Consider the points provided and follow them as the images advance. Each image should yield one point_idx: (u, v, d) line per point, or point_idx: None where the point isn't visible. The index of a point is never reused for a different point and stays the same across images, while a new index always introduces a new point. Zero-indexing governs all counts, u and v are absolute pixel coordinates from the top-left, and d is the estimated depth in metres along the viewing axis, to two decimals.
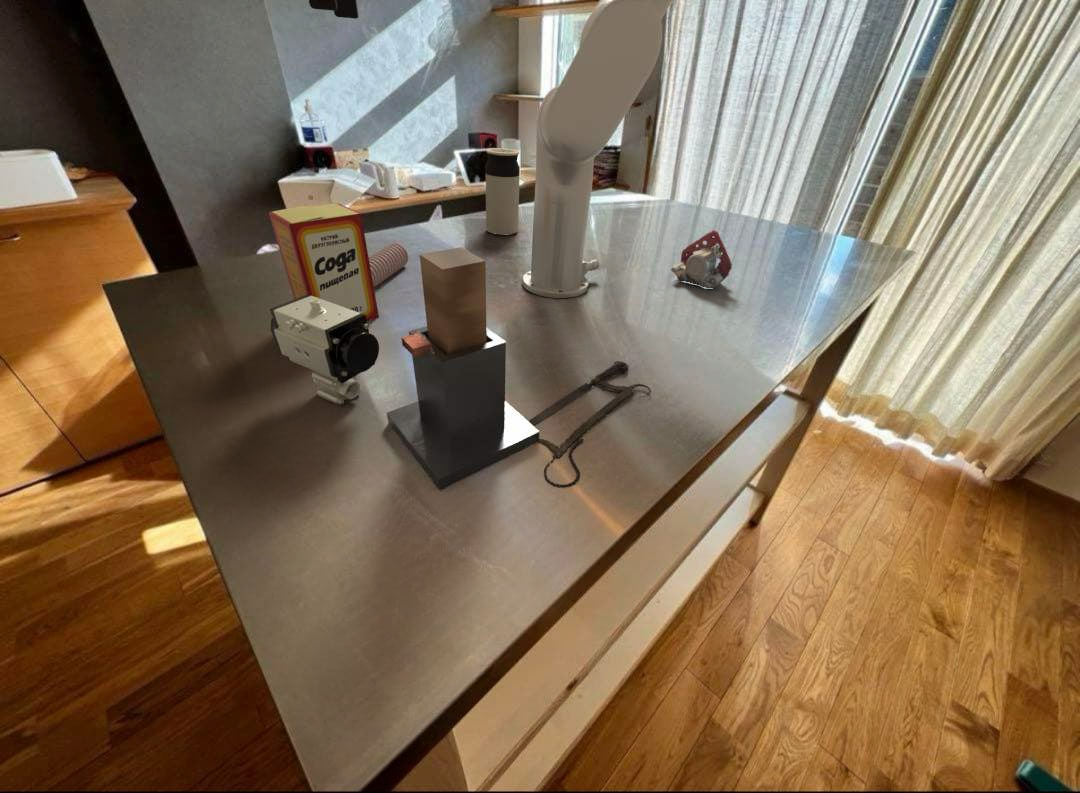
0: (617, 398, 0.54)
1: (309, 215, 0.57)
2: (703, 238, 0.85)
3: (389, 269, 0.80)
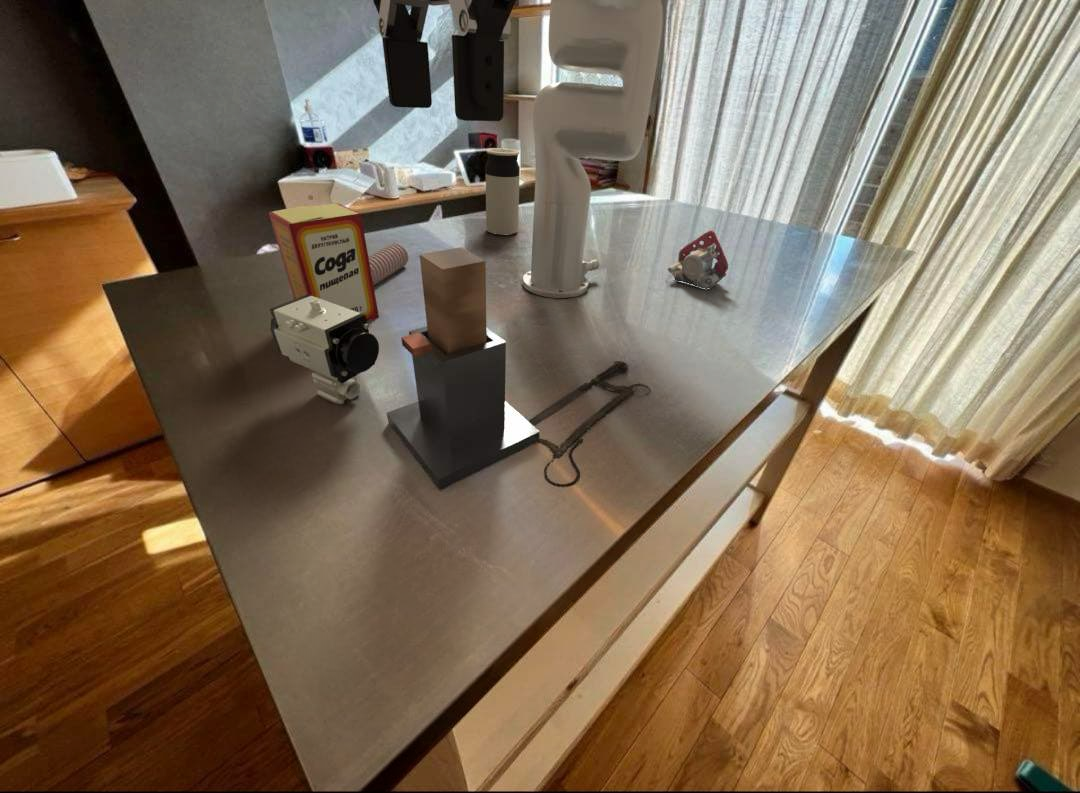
0: (617, 398, 0.54)
1: (309, 215, 0.57)
2: (700, 238, 0.85)
3: (387, 269, 0.79)
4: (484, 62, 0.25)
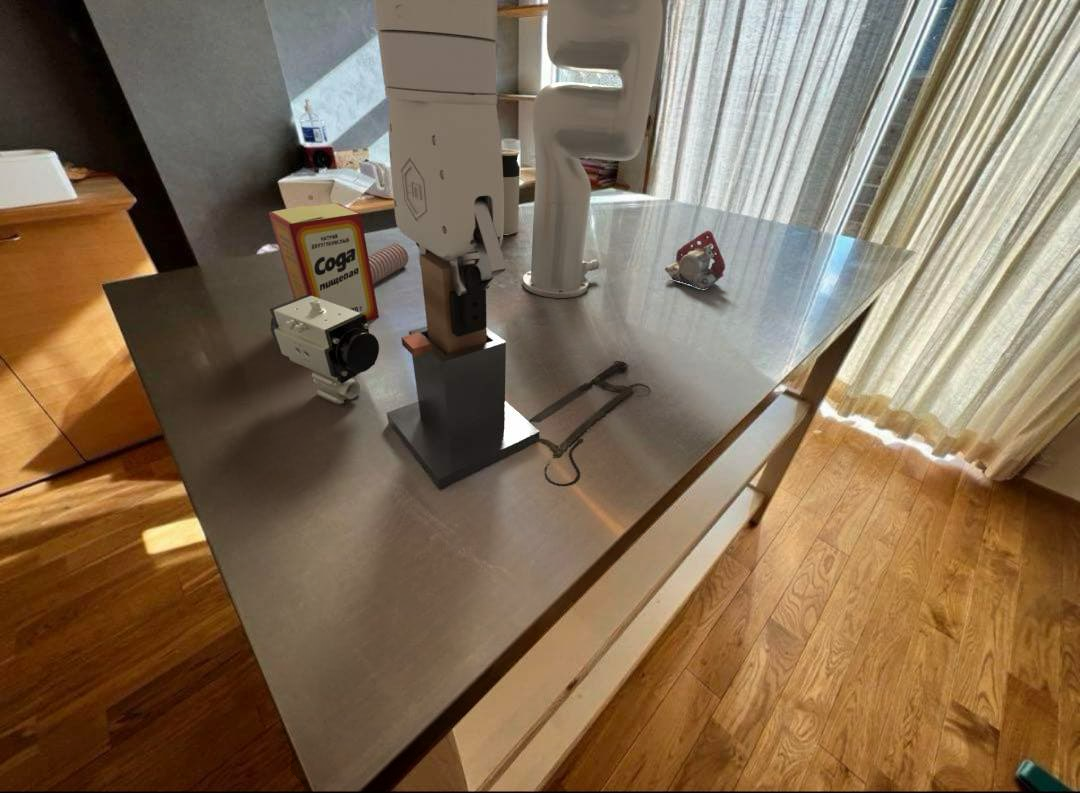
0: (617, 397, 0.54)
1: (309, 215, 0.57)
2: (697, 238, 0.85)
3: (385, 269, 0.79)
4: (472, 305, 0.36)
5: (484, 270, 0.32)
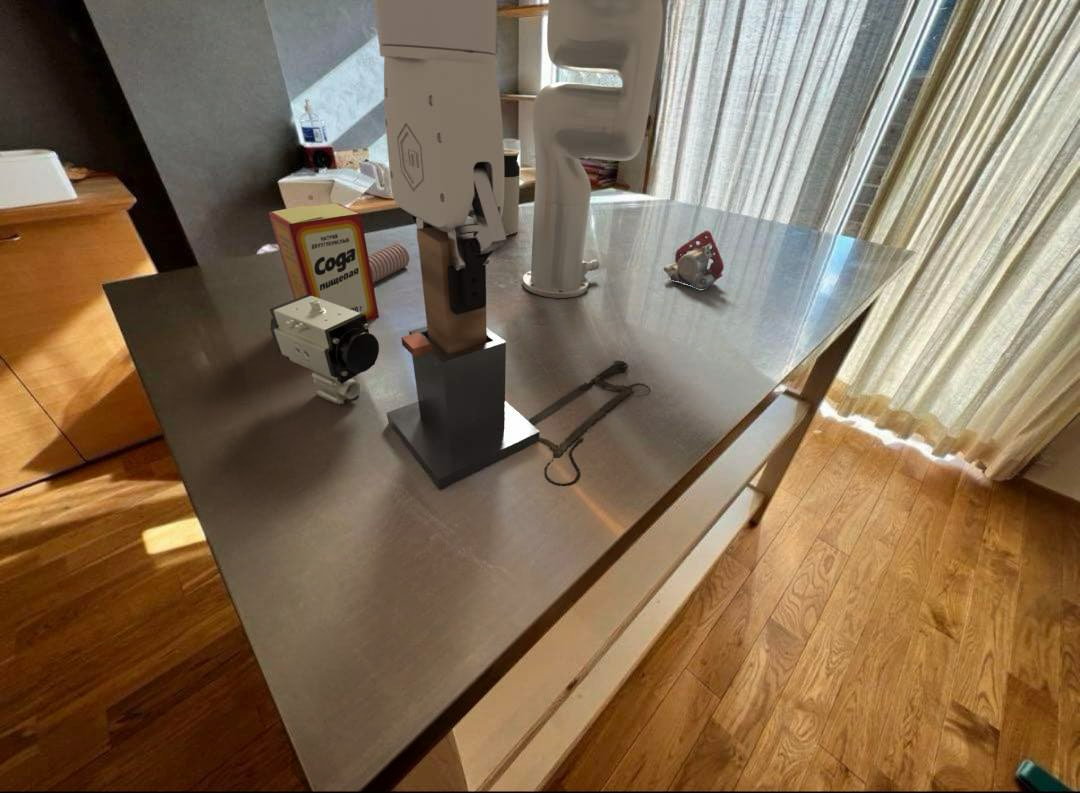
0: (617, 397, 0.54)
1: (309, 215, 0.57)
2: (696, 238, 0.85)
3: (384, 269, 0.79)
4: (471, 281, 0.35)
5: (484, 241, 0.31)
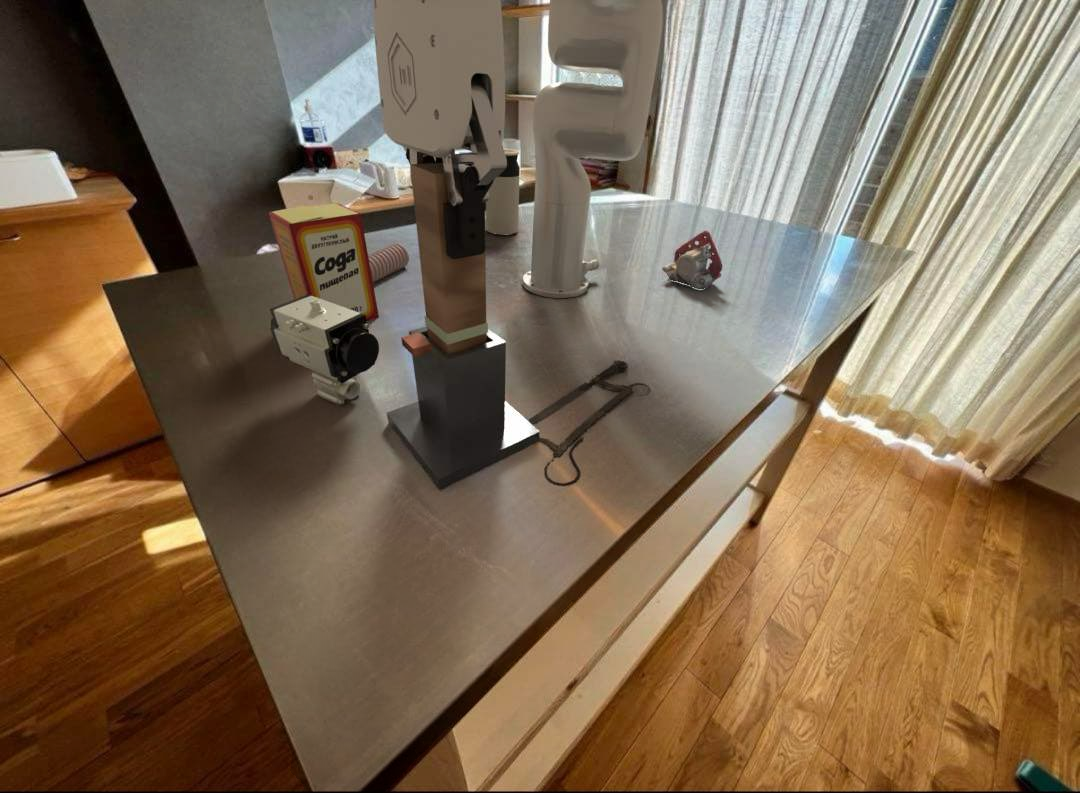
0: (617, 397, 0.54)
1: (309, 215, 0.57)
2: (695, 238, 0.85)
3: (383, 269, 0.79)
4: (469, 220, 0.32)
5: (483, 167, 0.28)
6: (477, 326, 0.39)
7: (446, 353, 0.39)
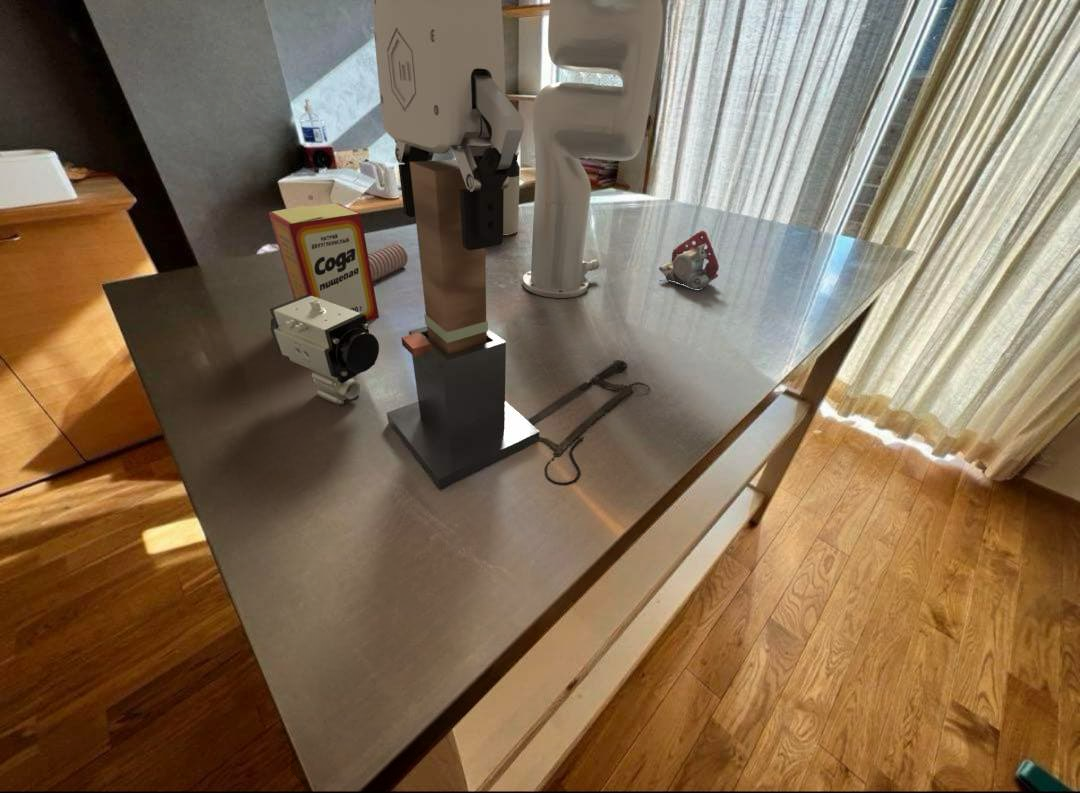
0: (617, 396, 0.54)
1: (309, 215, 0.57)
2: (692, 238, 0.84)
3: (382, 269, 0.79)
4: (487, 208, 0.30)
5: (500, 135, 0.25)
6: (477, 324, 0.39)
7: (446, 351, 0.39)
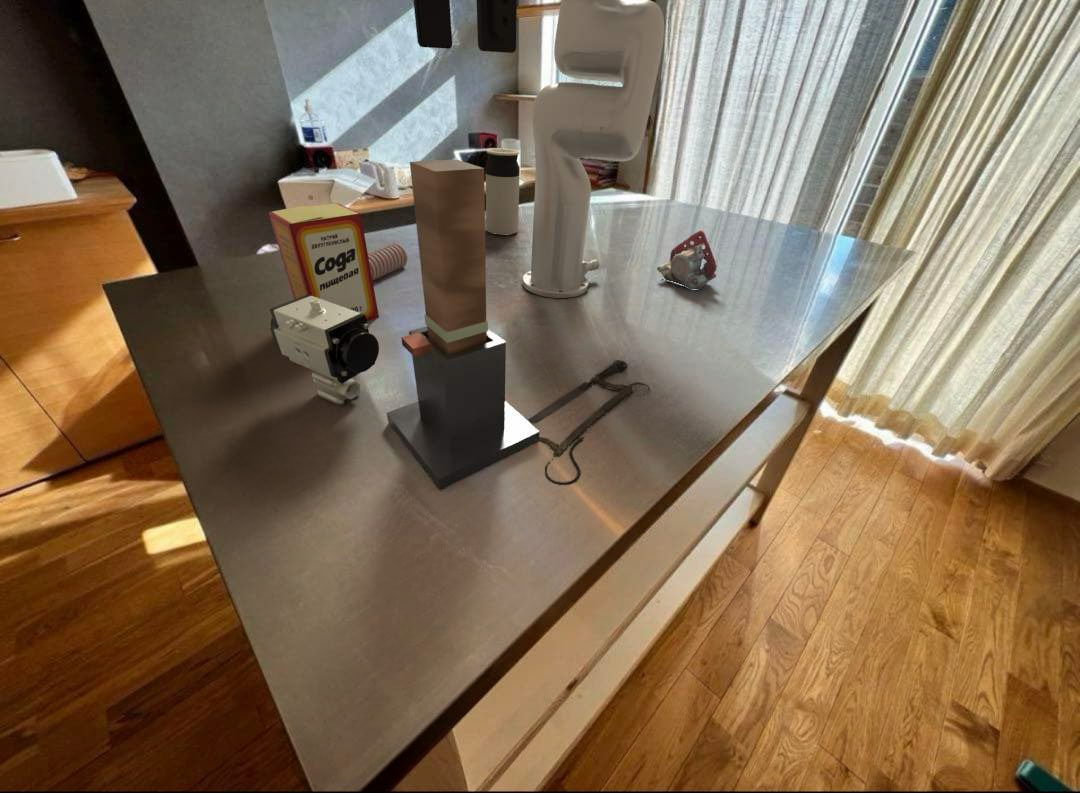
0: (617, 396, 0.54)
1: (309, 215, 0.57)
2: (690, 238, 0.84)
3: (381, 269, 0.79)
4: (502, 1, 0.31)
5: None
6: (477, 324, 0.39)
7: (446, 351, 0.39)
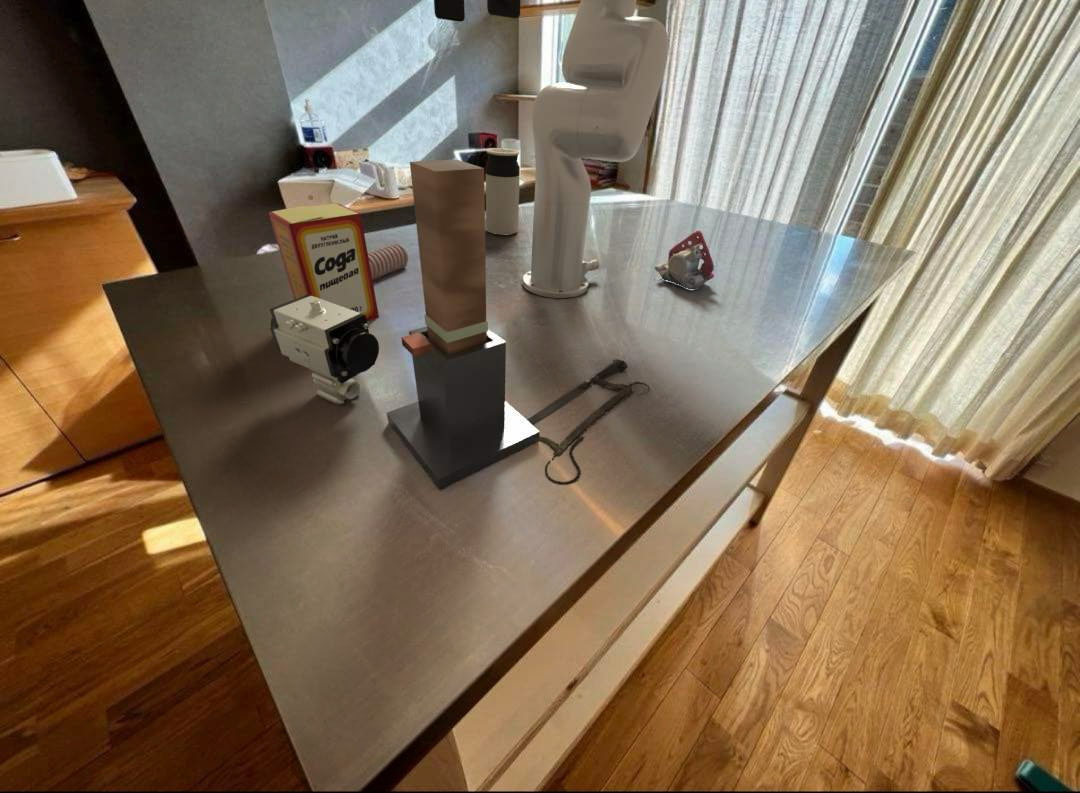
0: (616, 396, 0.54)
1: (309, 215, 0.57)
2: (688, 238, 0.84)
3: (379, 269, 0.79)
4: None
5: None
6: (477, 324, 0.39)
7: (446, 351, 0.39)
